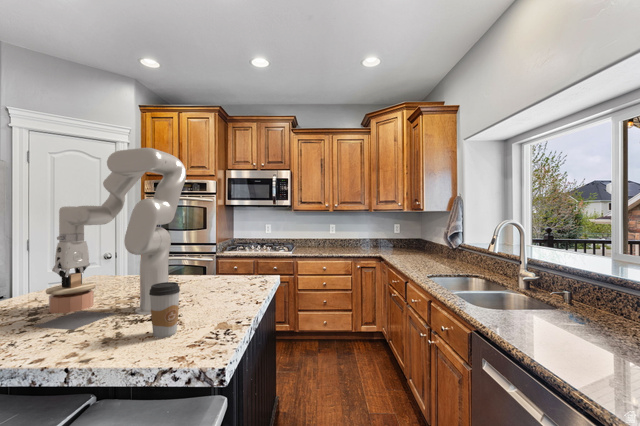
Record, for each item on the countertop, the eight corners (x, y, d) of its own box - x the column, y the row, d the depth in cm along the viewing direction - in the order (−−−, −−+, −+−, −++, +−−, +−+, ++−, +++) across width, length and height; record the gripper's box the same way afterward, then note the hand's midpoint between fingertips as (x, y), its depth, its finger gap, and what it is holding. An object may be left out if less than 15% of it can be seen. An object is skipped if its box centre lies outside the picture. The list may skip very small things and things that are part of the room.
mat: (116, 315, 111) (116, 313, 111) (73, 331, 95) (73, 329, 95) (79, 312, 114) (79, 311, 114) (31, 328, 98) (31, 326, 98)
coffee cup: (159, 342, 87) (159, 289, 87) (143, 336, 91) (143, 285, 91) (186, 332, 94) (185, 283, 94) (170, 327, 98) (169, 280, 98)
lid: (105, 285, 124) (105, 271, 124) (68, 295, 110) (68, 278, 110) (74, 284, 127) (74, 270, 127) (34, 293, 112) (34, 277, 112)
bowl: (101, 305, 123) (101, 290, 123) (69, 315, 111) (69, 298, 111) (74, 303, 126) (74, 288, 126) (39, 313, 113) (39, 297, 113)
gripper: (57, 240, 110) (57, 291, 109) (99, 236, 126) (99, 281, 126) (40, 240, 111) (40, 290, 111) (84, 236, 127) (84, 280, 127)
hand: (72, 285), depth 118 cm, fingers closed on lid, 3 cm apart
